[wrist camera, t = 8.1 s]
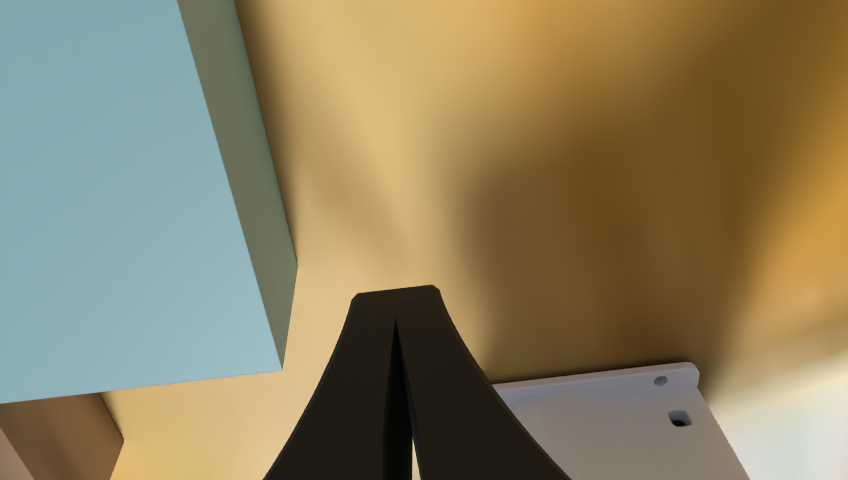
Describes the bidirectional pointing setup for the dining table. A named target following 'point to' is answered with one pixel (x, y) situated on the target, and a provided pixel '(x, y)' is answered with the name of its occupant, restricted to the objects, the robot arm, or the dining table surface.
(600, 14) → the dining table surface
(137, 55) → the block
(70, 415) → the board
